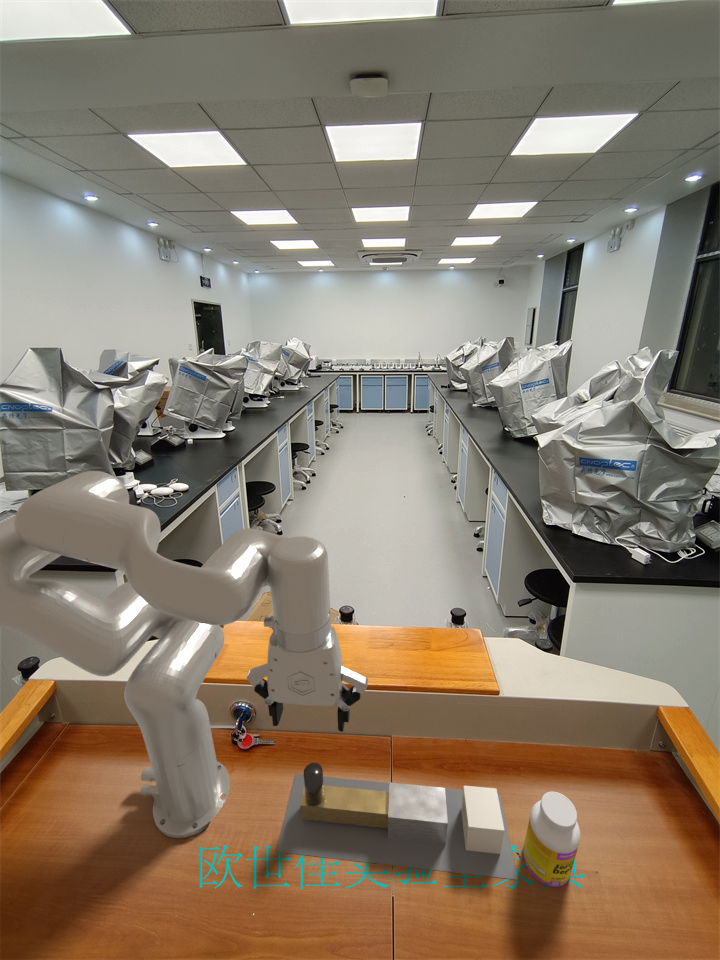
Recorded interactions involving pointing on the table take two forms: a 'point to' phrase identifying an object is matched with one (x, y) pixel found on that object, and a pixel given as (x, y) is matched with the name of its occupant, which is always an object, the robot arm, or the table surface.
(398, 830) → the sleeve
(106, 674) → the robot arm
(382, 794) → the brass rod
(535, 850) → the supplement bottle
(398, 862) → the base board
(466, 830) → the cream rectangular block
